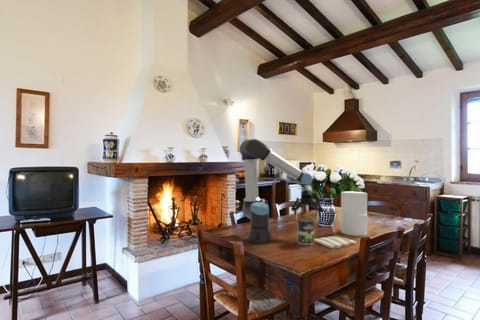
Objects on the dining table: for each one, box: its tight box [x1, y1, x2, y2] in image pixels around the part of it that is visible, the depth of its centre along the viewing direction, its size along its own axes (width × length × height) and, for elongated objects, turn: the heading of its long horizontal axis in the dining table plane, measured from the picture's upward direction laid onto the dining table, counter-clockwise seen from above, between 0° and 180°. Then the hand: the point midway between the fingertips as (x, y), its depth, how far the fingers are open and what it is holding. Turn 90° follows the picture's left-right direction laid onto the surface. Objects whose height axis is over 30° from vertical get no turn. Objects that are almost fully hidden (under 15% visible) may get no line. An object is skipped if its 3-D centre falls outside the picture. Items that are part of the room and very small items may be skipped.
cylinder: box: [340, 190, 368, 237], centre depth 207 cm, size 17×17×28 cm
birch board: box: [313, 235, 357, 250], centre depth 182 cm, size 20×16×2 cm
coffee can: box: [296, 217, 315, 246], centre depth 182 cm, size 10×10×14 cm
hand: (307, 219), depth 189 cm, fingers open, 13 cm apart
